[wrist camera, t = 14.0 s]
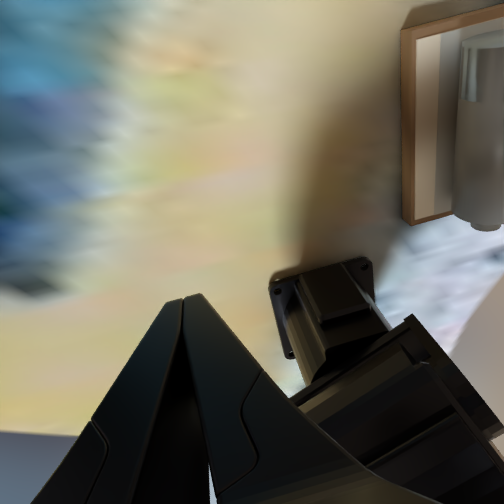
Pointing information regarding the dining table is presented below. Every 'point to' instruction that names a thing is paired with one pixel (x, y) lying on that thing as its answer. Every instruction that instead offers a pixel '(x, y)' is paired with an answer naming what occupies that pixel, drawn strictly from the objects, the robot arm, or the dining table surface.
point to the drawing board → (434, 108)
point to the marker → (480, 133)
